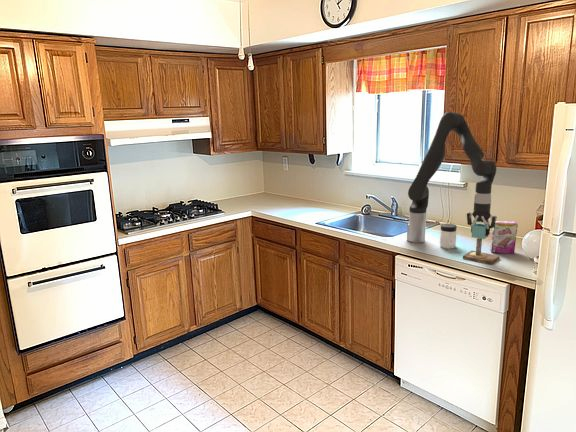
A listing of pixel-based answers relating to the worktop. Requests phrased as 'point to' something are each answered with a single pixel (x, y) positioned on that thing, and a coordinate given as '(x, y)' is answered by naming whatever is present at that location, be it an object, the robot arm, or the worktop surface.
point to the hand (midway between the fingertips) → (480, 234)
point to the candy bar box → (503, 237)
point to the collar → (479, 231)
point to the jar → (448, 236)
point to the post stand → (480, 255)
